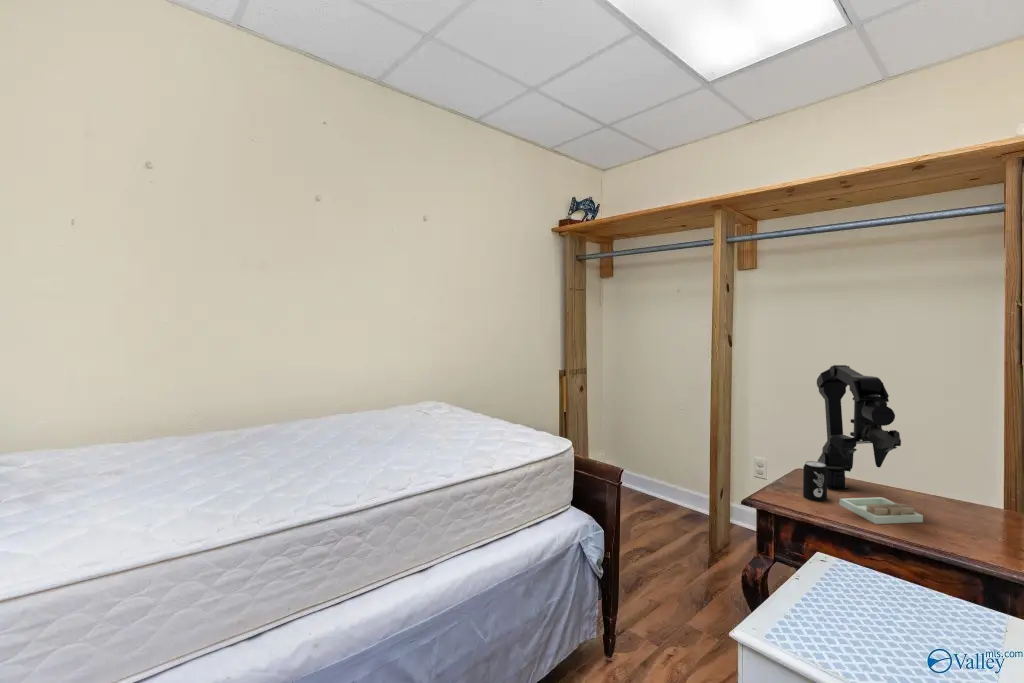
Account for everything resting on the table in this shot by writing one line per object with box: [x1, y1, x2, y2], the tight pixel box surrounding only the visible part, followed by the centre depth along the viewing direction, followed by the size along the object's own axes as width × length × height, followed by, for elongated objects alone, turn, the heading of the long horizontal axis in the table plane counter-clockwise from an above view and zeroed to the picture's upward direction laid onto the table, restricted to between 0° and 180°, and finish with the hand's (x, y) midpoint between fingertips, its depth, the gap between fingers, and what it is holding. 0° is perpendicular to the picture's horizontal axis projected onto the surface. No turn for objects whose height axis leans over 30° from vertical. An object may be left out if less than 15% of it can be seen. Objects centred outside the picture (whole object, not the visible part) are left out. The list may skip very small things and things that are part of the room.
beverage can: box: [802, 460, 828, 502], centre depth 153 cm, size 7×7×12 cm
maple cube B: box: [880, 504, 901, 515], centre depth 136 cm, size 4×4×4 cm
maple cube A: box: [866, 505, 888, 516], centre depth 136 cm, size 4×4×4 cm
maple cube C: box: [893, 503, 915, 515], centre depth 137 cm, size 4×4×4 cm
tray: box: [839, 496, 924, 525], centre depth 140 cm, size 14×14×2 cm
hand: (864, 467), depth 143 cm, fingers open, 9 cm apart
